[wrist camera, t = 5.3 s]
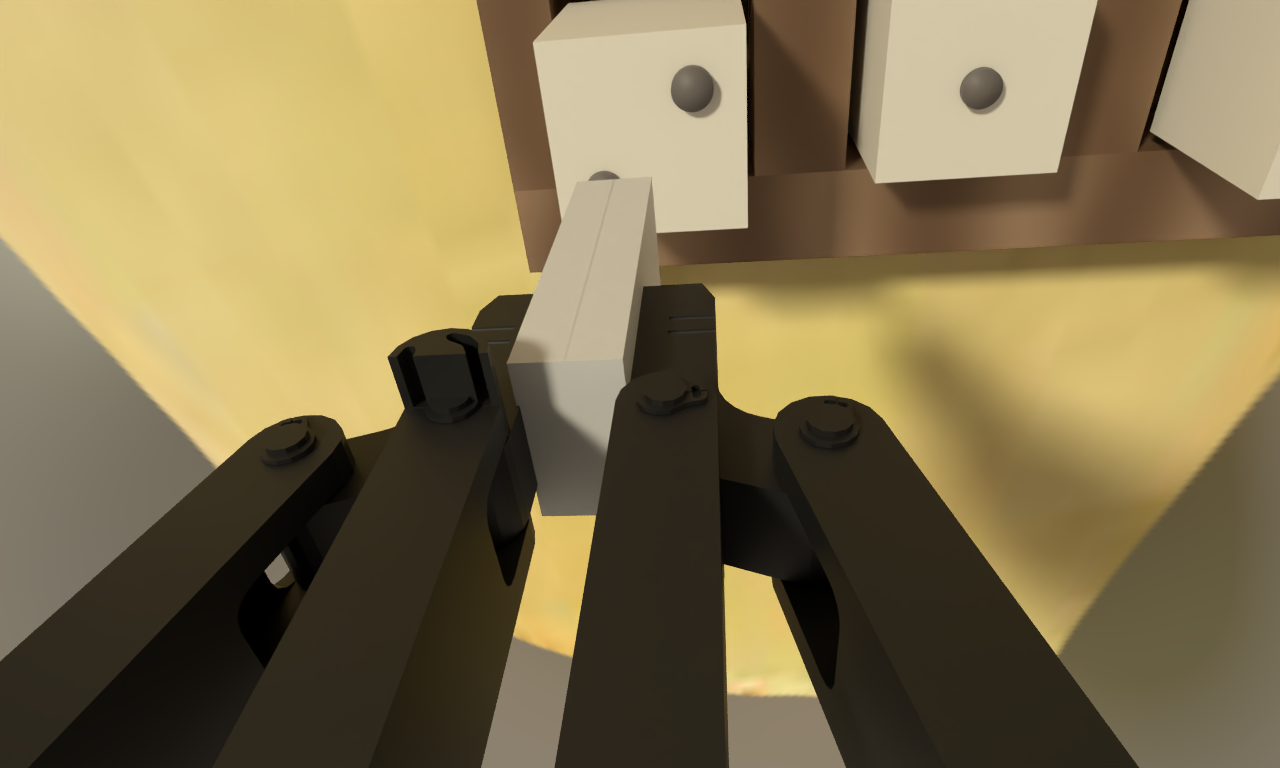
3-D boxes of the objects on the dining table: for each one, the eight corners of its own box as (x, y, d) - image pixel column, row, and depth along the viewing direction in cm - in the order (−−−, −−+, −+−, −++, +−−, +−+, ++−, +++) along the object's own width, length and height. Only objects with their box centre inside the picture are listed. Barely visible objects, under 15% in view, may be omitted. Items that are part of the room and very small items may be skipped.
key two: (590, 172, 27) (563, 247, 22) (568, 3, 24) (530, 44, 19) (740, 162, 26) (748, 237, 21) (737, -12, 23) (746, 26, 18)
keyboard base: (547, 230, 32) (529, 272, 29) (484, -133, 25) (450, -131, 22) (1303, 187, 29) (1378, 229, 26) (1493, -248, 21) (1634, -266, 18)
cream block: (845, 130, 28) (876, 191, 23) (856, -37, 25) (895, -7, 20) (994, 119, 28) (1059, 180, 23) (1025, -52, 24) (1109, -27, 19)
